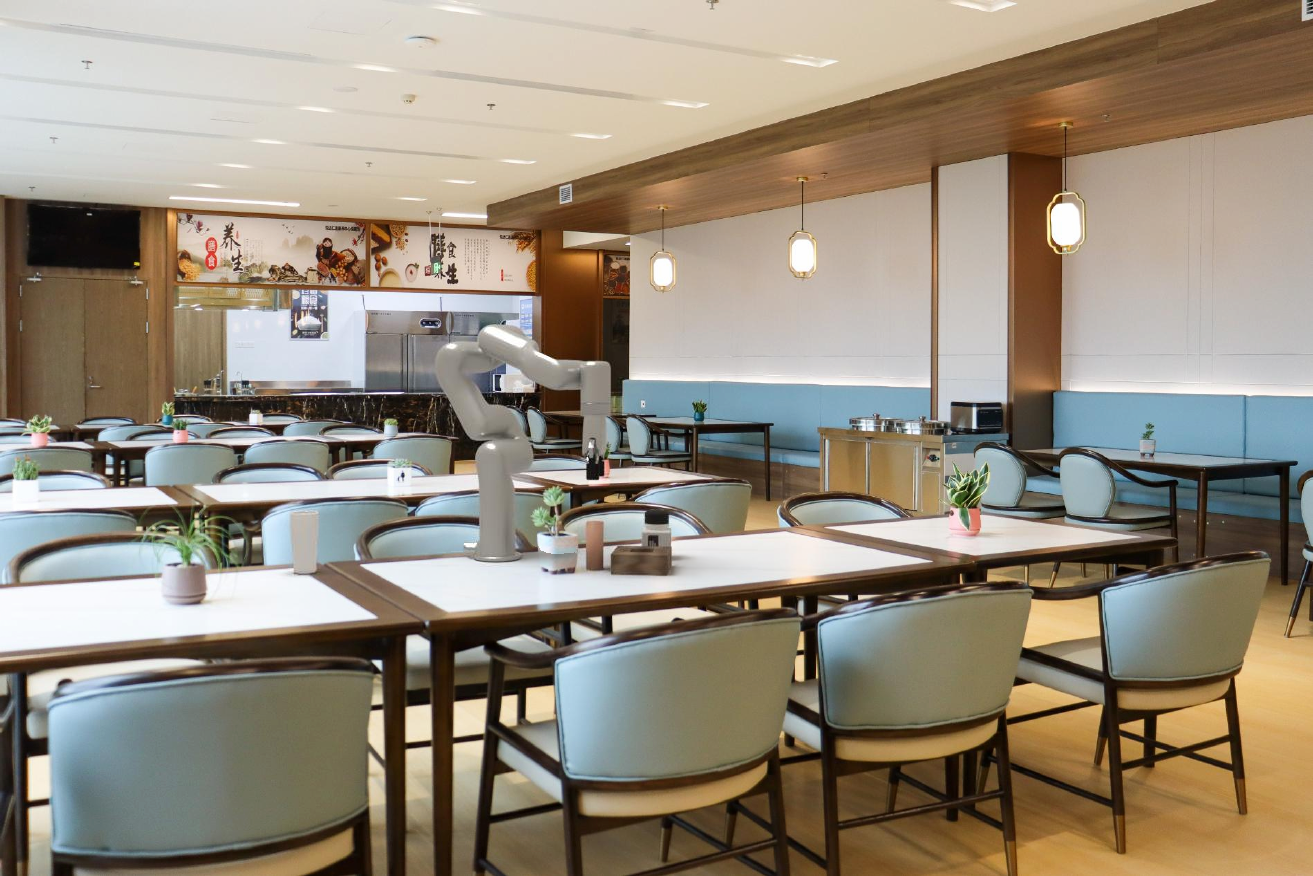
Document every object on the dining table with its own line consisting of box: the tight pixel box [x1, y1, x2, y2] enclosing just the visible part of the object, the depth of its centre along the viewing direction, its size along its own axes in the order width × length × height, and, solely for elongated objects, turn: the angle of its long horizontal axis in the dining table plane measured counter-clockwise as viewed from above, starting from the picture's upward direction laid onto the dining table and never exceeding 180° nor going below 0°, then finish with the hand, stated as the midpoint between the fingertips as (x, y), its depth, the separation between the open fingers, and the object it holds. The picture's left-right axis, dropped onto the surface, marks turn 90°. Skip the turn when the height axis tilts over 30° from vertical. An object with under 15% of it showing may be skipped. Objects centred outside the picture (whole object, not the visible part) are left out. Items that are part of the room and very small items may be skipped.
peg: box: [585, 520, 605, 572], centre depth 293 cm, size 4×4×12 cm
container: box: [641, 508, 672, 547], centre depth 311 cm, size 8×8×13 cm
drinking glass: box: [289, 510, 320, 575], centre depth 285 cm, size 7×7×15 cm
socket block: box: [610, 545, 673, 576], centre depth 292 cm, size 14×14×5 cm
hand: (595, 478), depth 292 cm, fingers open, 9 cm apart
